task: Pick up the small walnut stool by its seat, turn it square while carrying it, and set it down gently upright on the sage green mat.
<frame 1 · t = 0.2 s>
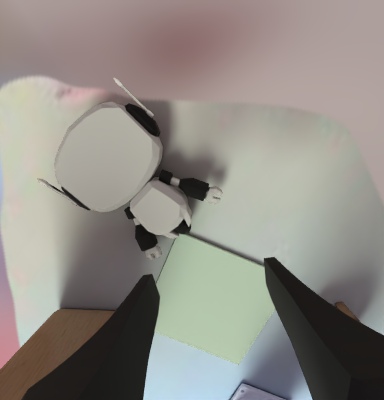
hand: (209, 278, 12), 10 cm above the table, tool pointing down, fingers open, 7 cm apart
robot toy: (144, 179, 22), on the table
wooden block: (96, 334, 28), on the table
sage mat: (211, 301, 25), on the table
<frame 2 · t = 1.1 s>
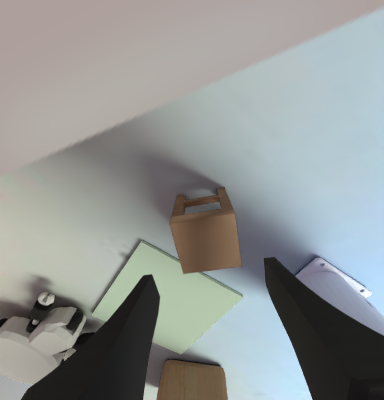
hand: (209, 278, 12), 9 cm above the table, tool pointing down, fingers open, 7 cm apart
robot toy: (54, 321, 29), on the table
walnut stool: (204, 212, 21), on the table
wooden block: (190, 375, 33), on the table
sage mat: (164, 304, 26), on the table
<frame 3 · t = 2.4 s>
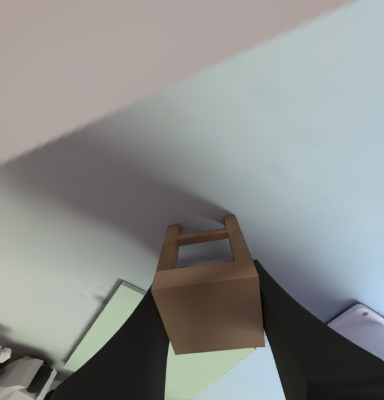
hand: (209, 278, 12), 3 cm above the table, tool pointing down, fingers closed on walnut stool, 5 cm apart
robot toy: (18, 370, 23), on the table
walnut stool: (206, 247, 15), on the table, touching gripper
sage mat: (155, 355, 21), on the table
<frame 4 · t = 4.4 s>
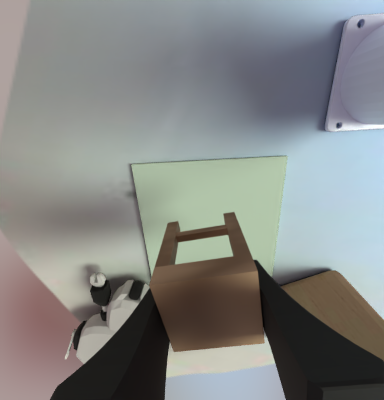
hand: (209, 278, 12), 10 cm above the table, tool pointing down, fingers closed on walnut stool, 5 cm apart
robot toy: (130, 308, 28), on the table
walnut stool: (206, 245, 15), point 6 cm above the table, touching gripper
wooden block: (304, 302, 26), on the table
sage mat: (209, 226, 22), on the table
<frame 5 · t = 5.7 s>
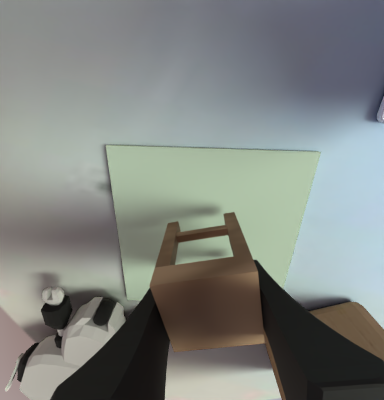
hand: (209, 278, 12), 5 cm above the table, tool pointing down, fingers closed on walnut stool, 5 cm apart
robot toy: (98, 328, 22), on the table
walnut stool: (206, 245, 15), point 1 cm above the table, touching gripper
wooden block: (312, 335, 21), on the table
sage mat: (206, 237, 17), on the table
when the fingers open (5 cm above the table, at t = 6.6 s): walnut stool stays where it is, resting on sage mat.
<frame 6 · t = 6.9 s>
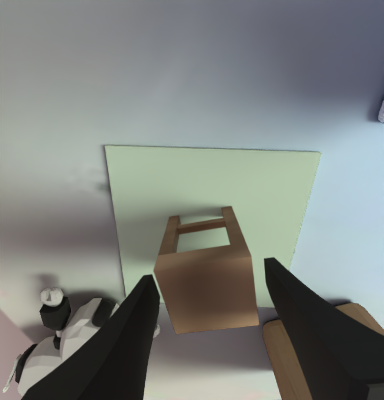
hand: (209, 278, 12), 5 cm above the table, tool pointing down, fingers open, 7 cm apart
robot toy: (97, 330, 22), on the table
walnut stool: (205, 237, 16), resting on sage mat
wooden block: (312, 336, 21), on the table
sage mat: (206, 237, 17), on the table
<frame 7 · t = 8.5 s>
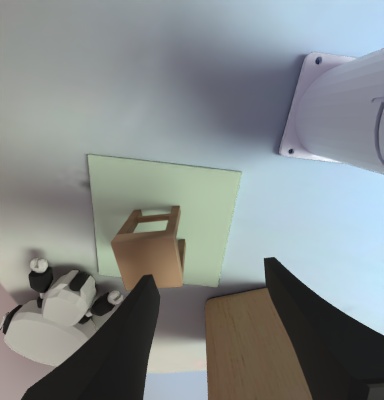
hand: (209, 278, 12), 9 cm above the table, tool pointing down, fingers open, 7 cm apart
robot toy: (73, 298, 27), on the table
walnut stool: (160, 228, 21), resting on sage mat
wooden block: (246, 313, 27), on the table
sage mat: (162, 228, 22), on the table
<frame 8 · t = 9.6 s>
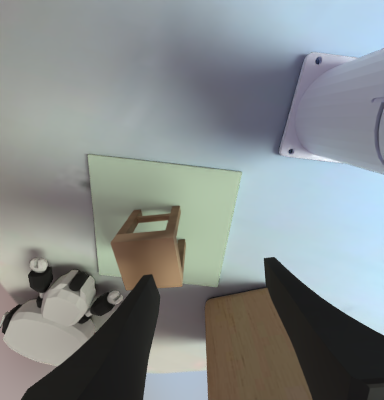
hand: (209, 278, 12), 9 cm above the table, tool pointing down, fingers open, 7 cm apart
robot toy: (73, 298, 27), on the table
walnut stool: (160, 228, 21), resting on sage mat
wooden block: (246, 313, 27), on the table
sage mat: (162, 228, 22), on the table
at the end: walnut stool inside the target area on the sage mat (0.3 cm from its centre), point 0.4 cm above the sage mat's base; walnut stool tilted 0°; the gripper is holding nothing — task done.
